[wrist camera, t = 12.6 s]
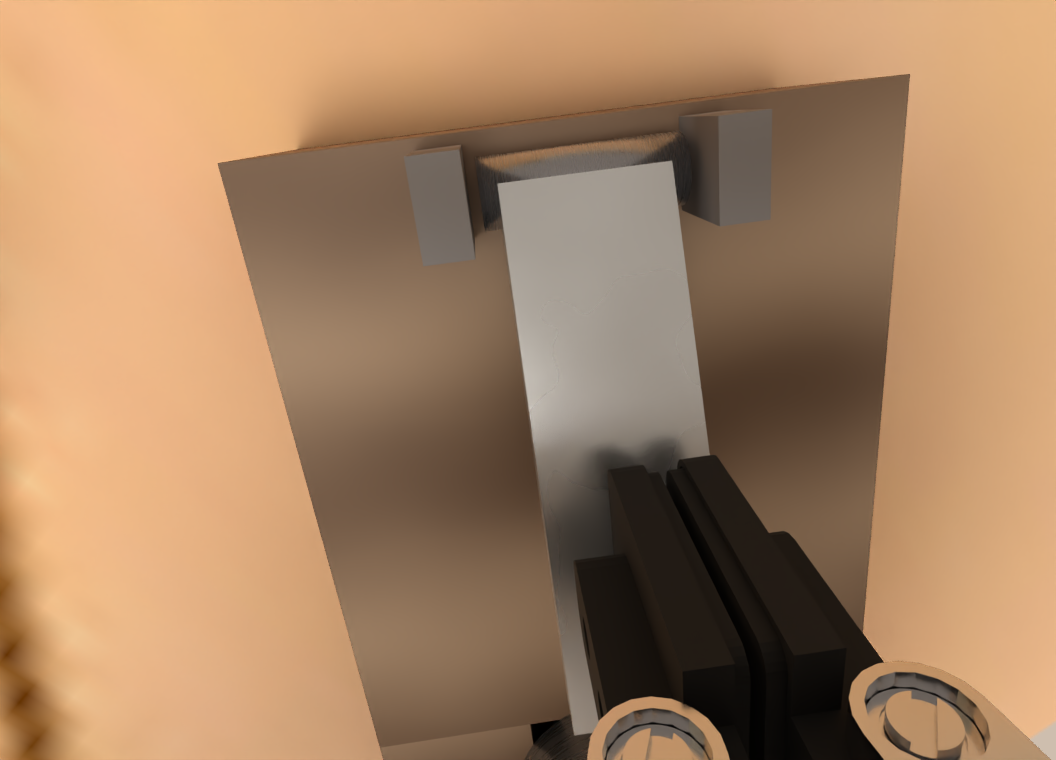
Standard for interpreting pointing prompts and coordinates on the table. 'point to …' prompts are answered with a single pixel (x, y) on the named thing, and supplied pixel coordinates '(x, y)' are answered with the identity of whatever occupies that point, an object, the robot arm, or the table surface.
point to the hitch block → (498, 391)
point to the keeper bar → (597, 339)
